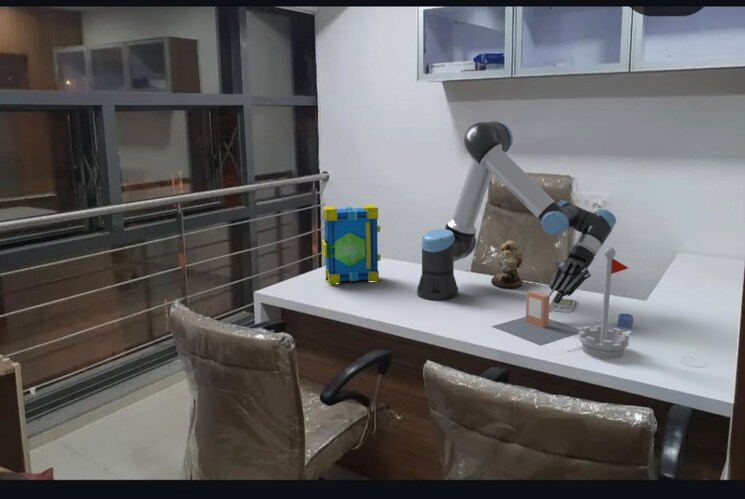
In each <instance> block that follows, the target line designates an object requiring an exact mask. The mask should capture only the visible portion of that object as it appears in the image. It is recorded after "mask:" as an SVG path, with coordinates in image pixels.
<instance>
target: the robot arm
mask: <svg viewBox="0 0 745 499" xmlns="http://www.w3.org/2000/svg"><path fill="white" fill-rule="evenodd" d="M513 137H514V136H513V133H512V131H511V128H510V127H509V126H508V125H507V124H505V123H503V122H501V121H496V120H491V121H479V122H476V123H474V124H472V125H470V126H469V127H468V128H467V130H466V131H465V134H464V137H463V143H464V147H465V150H466V151H467V153H468V154H469V156H470V158H471V161H470V165H469V167H468V171H467V174H466V177H465V180H464V183H463V186H462V188H461V192H460V195H459V198H458V201H457V204H456V207H455V210H454V213H453V216H452V218H451V219H449V220H447V221H446V224H445V227H444V228H443V229H442V228H441V229H440V228H439V229H438V228H437V229H431V230H429V231H426V232H425V233H424V234H423V235H422V240H421V245H420V246H421V275H420V279H419V283H418V285H417V288H416V294H417V296H418V297H420V298H423V299H426V300H433V301H445V300H451V299H454V298H457V297H458V296H459V287H458V285H457V281H456V278H455V274H454V272H455V271H454V268H455V267H454V266H455V262H457V261H459V260H462V259H465V258H467V257H468V256H469V255H471V254H472V253H473V252H474V250H475V249H476V246H477V237H476V234H477V229H476V227H475V225H476V222H477V219H478V216H479V212H480V210H481V207H482V204H483V202H484V198H485V195H486V193H487V190H488V187H489V186H490V181H491V180H492V175H494V176H495V178H497V179H498V181H500V182H501V183H502V184H503V185H504V186H505V187H506V189H508V190H509V191H510V192H511V193H512V194H513V195H514V196H515V197H516V198H517V199H518V200H519V201H520V202H521V203H522V204H523V205H524V206H525V207H526V208H527V209H528V210H529V211H530V212H531V213H532V214H533V215H534V216H535V217H536V218H537V219H538V220H539V221H540V224H541V227H542V230H543V231H544V232H545V234H548V235H551V236H557V235H562V234H563V233H565V232H566V231H568V230H574V231H576V232H578V233H581V234H580V236H578V239H577V240H576V241H575V243H574V245H573V246H572V248H571V250H570V251H569V253H568V256H567V258H566V259H565V260H564V261H563V262H562V263H559V262H556V263H555V269H554V272H553V274H552V277H551V280H550V282H549V285H548V288H550V290H551V292H550V293H549V294H548V295H549V296H550V299H549V313H553V312H554V311H553V309H554V307H555V306H556V304H558V303H560V301H561V299H564V297H565V296H568V297H570V296H571V295H573V293H574V292H576V290H578V288H579V287H580V286H581V285H582V284H583V282H585V281H586V280H587V279H589V278H590V277H591V276H592V274H591V273H590V271H589V270H588V269H589V267H590V266H591V264H592V263H593V261H594V260H595V257H596V256H597V255H598V253H599V251H600V250H601V248H602V247H603V245H604V243H605V241H606V240H607V239H608V237H609V235H610V234H611V233H612V230H613V229H614V226H615V225H616V224H617V218H616V216H615V215H614V213H613V212H611V211H610V210H608V209H602V208H598V209H597V210H596V211H594V212H592V211H589V210H586V209H584V208H582V207H580V206H578V205H575V204H573V203H571V202H570V201H569V202H568V201H565V200H559V201H557V202H556V201H555V200H554V199H553V198H552V197H551V196H550V195H548V193H547V192H546V191H544V189H543V188H542V187H541V186H539V185H538V183H537V182H535V181H534V180H533V179H532V178H531V177H530V176H529V175H528V174H527V173H526V172H525V171H524V170H523V169H522V168H521V167H520V166H519V165H518V164H517V163H516V162H515V161H514V160H513V159H512V158H511V157H510V156H509V155H508V154H507V152H508V151H509V150H510V149H511V147H512V145H513V142H514V140H513V139H514V138H513Z"/></svg>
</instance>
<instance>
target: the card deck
mask: <svg viewBox="0 0 745 499" xmlns="http://www.w3.org/2000/svg"><path fill="white" fill-rule="evenodd" d="M549 295H550V294H545V293H541V292H538V291H535V290H527V291H526V304H525V308H526V310H525V312H526V313H525V317H526V322H527V323H530V324H533V325H536V326H539V327H541V328H545V327H548V319H550V318H549V314H550V312H549V299H550V296H549Z"/></svg>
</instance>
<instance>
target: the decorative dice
mask: <svg viewBox="0 0 745 499" xmlns="http://www.w3.org/2000/svg"><path fill="white" fill-rule="evenodd" d="M616 325H617V327H619V328H623V329H631V330H632V328H633V325H634V316H633V315H632V314H630V313H620V314H618V317H617V322H616Z"/></svg>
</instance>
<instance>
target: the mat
mask: <svg viewBox="0 0 745 499" xmlns="http://www.w3.org/2000/svg"><path fill="white" fill-rule="evenodd" d="M491 327H492V328H494V329H496V330H498V331H502V332H505V333H507V334H509V335H512V336H515V337H517V338H520V339H521V340H525V341H528V342H530V343H533V344H535V345H538V346H541V347H542V346H544V345H547V344H550V343H553V342H554V343H555V342H556V341H560V340H564V339H565V338H570V337H572V336H575V335H578V334H579V332H580V331H582V329H580V328H578V327H575V326H571V325H569V324H565V323H562V322H559V321H557V320H553V319H550V318H549V319H548V327H545V328H541V327H539V326H536V325H533V324H530V323H527V322H526V316H524V317H519V318H516V319H513V320H509V321H506V322H503V323H498V324H494V325H491Z"/></svg>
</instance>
